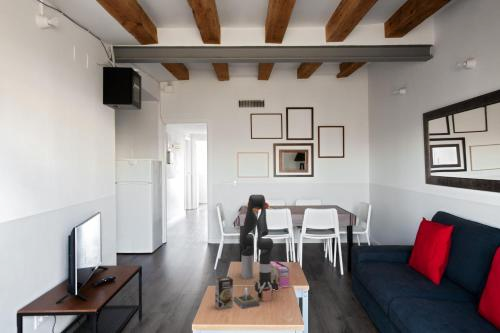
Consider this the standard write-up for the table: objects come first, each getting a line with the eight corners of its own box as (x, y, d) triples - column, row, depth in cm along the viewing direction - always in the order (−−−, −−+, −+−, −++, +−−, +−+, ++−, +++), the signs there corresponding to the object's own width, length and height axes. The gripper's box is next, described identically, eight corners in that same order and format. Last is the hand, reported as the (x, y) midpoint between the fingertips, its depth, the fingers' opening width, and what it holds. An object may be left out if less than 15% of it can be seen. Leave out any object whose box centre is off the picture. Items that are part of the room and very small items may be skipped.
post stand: (233, 300, 187) (233, 285, 187) (249, 297, 191) (249, 283, 192) (242, 308, 174) (242, 292, 175) (259, 305, 179) (259, 290, 179)
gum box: (265, 278, 229) (265, 260, 230) (274, 277, 232) (274, 259, 233) (279, 289, 207) (279, 269, 208) (289, 287, 210) (289, 267, 210)
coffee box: (218, 309, 173) (218, 281, 174) (214, 305, 178) (214, 278, 179) (233, 306, 177) (233, 278, 178) (228, 302, 183) (228, 275, 184)
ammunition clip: (278, 290, 204) (278, 272, 205) (278, 291, 202) (278, 273, 203) (263, 288, 207) (263, 271, 208) (262, 289, 205) (262, 272, 206)
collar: (258, 298, 190) (258, 288, 190) (267, 297, 192) (267, 287, 192) (263, 301, 184) (263, 291, 184) (271, 300, 187) (271, 290, 187)
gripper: (272, 267, 195) (272, 293, 195) (252, 270, 189) (252, 297, 189) (277, 270, 189) (278, 297, 188) (257, 273, 183) (257, 301, 182)
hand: (265, 297), depth 188 cm, fingers open, 7 cm apart
